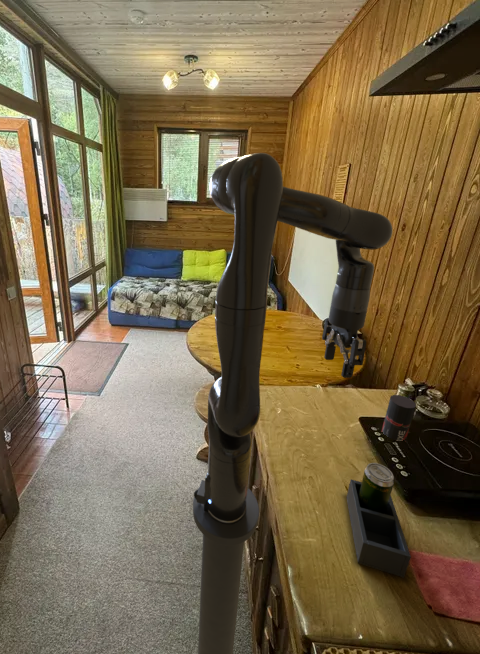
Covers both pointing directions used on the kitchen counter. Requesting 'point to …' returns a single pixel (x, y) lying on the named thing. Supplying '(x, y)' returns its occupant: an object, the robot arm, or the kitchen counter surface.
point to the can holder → (377, 535)
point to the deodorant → (398, 417)
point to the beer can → (376, 488)
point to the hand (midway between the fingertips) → (337, 367)
